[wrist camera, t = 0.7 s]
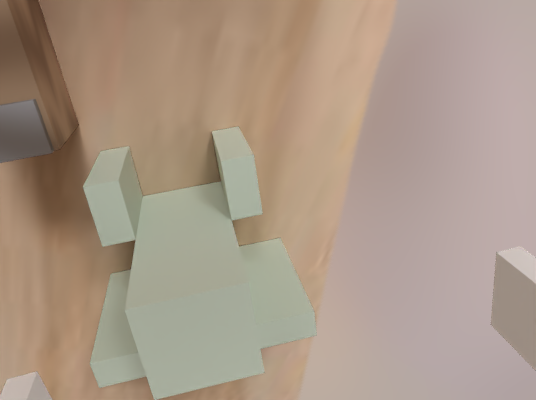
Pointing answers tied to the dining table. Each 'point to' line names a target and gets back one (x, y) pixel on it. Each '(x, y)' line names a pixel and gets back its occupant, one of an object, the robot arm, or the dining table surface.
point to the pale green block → (190, 278)
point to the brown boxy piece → (30, 85)
